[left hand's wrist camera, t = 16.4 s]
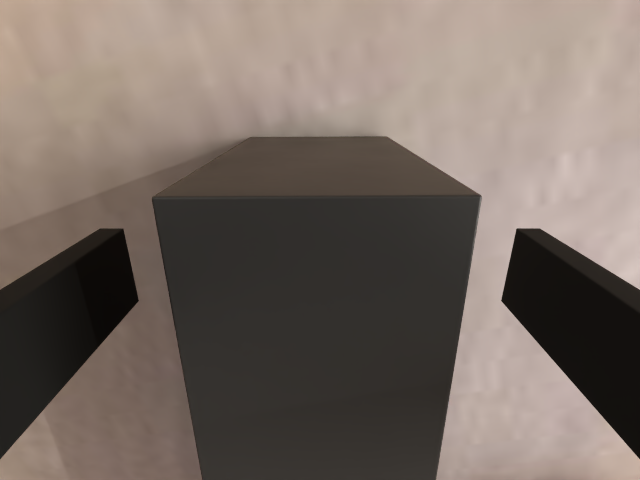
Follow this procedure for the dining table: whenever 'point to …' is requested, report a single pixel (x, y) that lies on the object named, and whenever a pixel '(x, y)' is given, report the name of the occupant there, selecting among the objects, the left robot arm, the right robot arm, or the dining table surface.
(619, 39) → the dining table surface
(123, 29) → the dining table surface
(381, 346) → the bar
